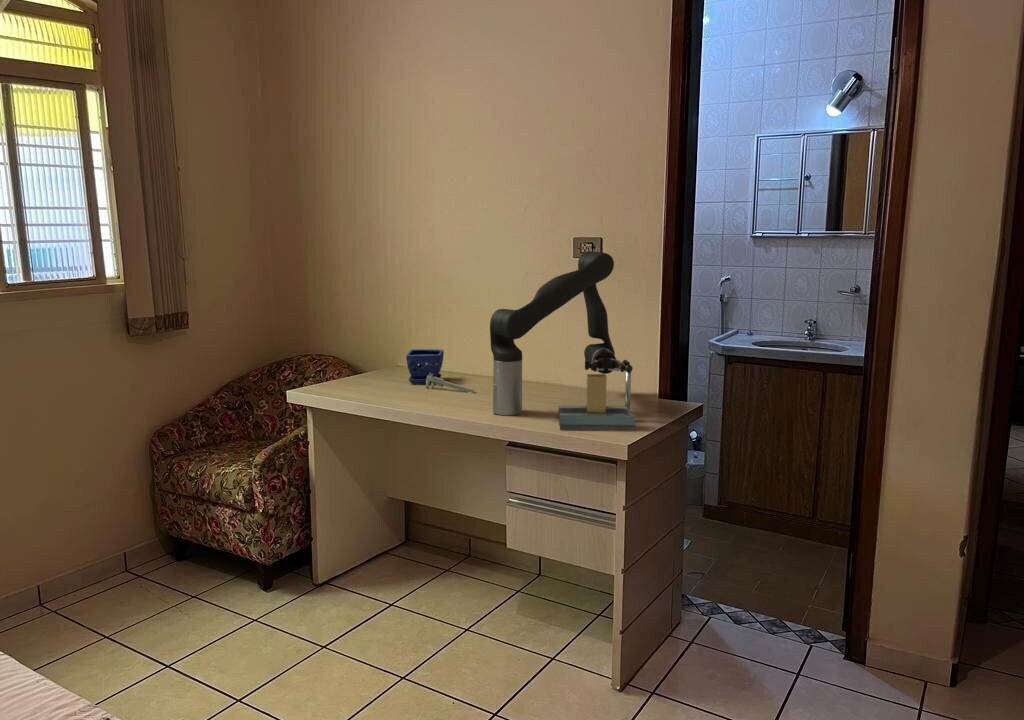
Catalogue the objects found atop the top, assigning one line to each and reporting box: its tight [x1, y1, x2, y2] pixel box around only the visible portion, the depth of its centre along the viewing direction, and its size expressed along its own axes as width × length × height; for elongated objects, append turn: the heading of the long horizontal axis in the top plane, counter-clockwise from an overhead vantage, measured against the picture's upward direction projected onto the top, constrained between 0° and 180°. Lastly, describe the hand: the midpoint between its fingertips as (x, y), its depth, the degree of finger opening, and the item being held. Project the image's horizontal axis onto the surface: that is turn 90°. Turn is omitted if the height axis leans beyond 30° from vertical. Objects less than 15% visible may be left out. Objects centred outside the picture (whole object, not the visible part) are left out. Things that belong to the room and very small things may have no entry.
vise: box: [557, 413, 636, 431], centre depth 239 cm, size 16×22×4 cm
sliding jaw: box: [557, 364, 633, 417], centre depth 243 cm, size 4×22×16 cm, turn 89°
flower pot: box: [405, 348, 445, 385], centre depth 303 cm, size 13×13×12 cm
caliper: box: [425, 373, 477, 394], centre depth 287 cm, size 20×1×6 cm, turn 66°
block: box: [585, 373, 608, 413], centre depth 237 cm, size 4×6×14 cm
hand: (609, 368), depth 247 cm, fingers open, 8 cm apart
